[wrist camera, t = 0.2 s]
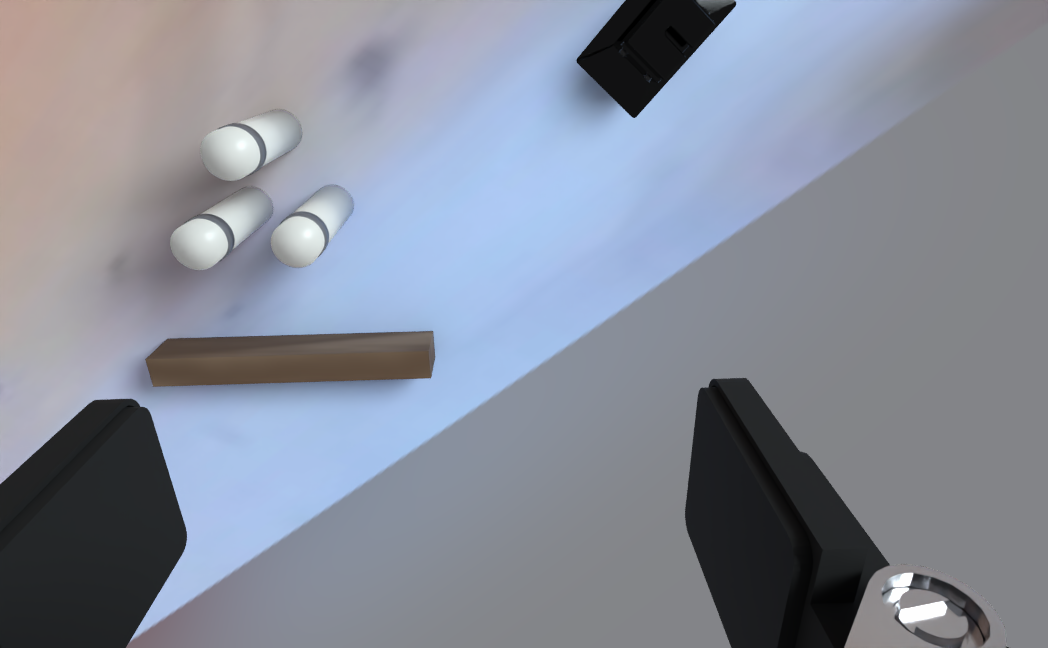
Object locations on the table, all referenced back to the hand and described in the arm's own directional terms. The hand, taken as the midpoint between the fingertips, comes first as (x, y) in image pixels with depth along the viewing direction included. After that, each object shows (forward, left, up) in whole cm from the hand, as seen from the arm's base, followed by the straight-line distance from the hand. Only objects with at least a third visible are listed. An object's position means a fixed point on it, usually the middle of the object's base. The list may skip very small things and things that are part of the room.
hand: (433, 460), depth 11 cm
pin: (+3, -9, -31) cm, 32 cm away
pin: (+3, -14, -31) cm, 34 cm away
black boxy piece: (-7, +10, -32) cm, 34 cm away
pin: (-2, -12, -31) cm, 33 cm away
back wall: (+13, -13, -31) cm, 36 cm away
